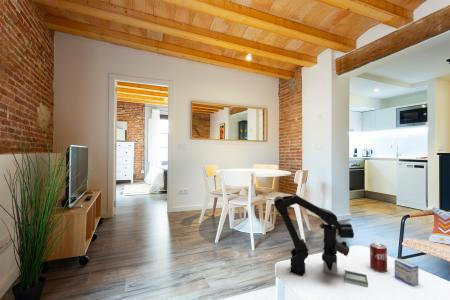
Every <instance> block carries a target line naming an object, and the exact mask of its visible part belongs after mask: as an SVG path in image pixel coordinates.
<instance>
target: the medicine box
mask: <svg viewBox="0 0 450 300" xmlns="http://www.w3.org/2000/svg"><path fill="white" fill-rule="evenodd" d="M394 278H395V279H396V280H399V281H401V282H403V283H405V284H407V285H408V286H412V287H414V286H417V285H419V282H420V281H419V265H418V264H414V263H411V262H410V261H408V260H405V259H402V258H397V259H394Z"/></svg>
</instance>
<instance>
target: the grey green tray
mask: <svg viewBox="0 0 450 300" xmlns="http://www.w3.org/2000/svg"><path fill="white" fill-rule="evenodd" d="M367 276H368V274H365V273H361V272H355V271H350V270H344V282H345V283H348V284H353V285H358V286H361V287H366V288H368V287H369V282H368V277H367Z"/></svg>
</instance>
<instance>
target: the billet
mask: <svg viewBox="0 0 450 300" xmlns="http://www.w3.org/2000/svg"><path fill="white" fill-rule="evenodd" d="M322 262H323V265H322V266H323V272H324V273H327V274H328V273H329V274H332V275H337V276H338V262H337V263H333V265H332V269H331V270H329V269H328V267H327V265H326V263H325V261H323V260H322Z"/></svg>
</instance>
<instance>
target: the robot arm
mask: <svg viewBox="0 0 450 300" xmlns="http://www.w3.org/2000/svg"><path fill="white" fill-rule="evenodd" d="M273 204H274V208H275V210H276V211H277V212H278V213H279V215H280V216H281V218H282V220H283V222H284V224H285V227H286V229H287V231H288V233H289V235H290V238H291V240H292V245H293V249H292V250H290V255H291V257H290V270H289V273H290V274H295V275H299V276H304V274H305V273H306V262H305V260H306V259H307V258H308V256H309V251H310V250H309V247H308V246H307V244H306V241H305V239H304V238H300V237H299V234H298V232H297V230H296V227H295V226H294V223H293V221H292V219H291V217H290V214H289V210H288V207H291V206H294V205H298V206H300V207H302V208H304V209H306V210H307V211H308V212H310V213H312V214H314V215H316V216H317V217H318V218H320V219H321V220H322V221H324V222H325V223H324V222H321V223H320V224H319V225H318V226H319V228H320V229H322V230H323V239H322V240H323V248H322V249H323V252H322V255H321V261H322V262H323V261H325V263H326V265H327V267H328V269H329V270H331V269H332V265H333V263H337V264H338V256H337V255H338V253H340V254H342V255H343V256H345V257H348V255H349V253H350V246H349V245H348V243H347V242H346V241H344V240H343V241H338V239H337V236H339V238H341V239H354V236H355V233H354V229H353V225H352V224H351V223H340V222H339V221H338V216H337V215H336V214H335V213H334V212H332V210H329V209H326V208H323V207H319V206H317V205H315V204H314V203H312V202H310V201H308V200H306V199H304V197H301V196H300V195H298V194H296V193H295V194H292V195H285V196H280V195H279V196H276V197H275V198H274V199H273Z"/></svg>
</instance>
